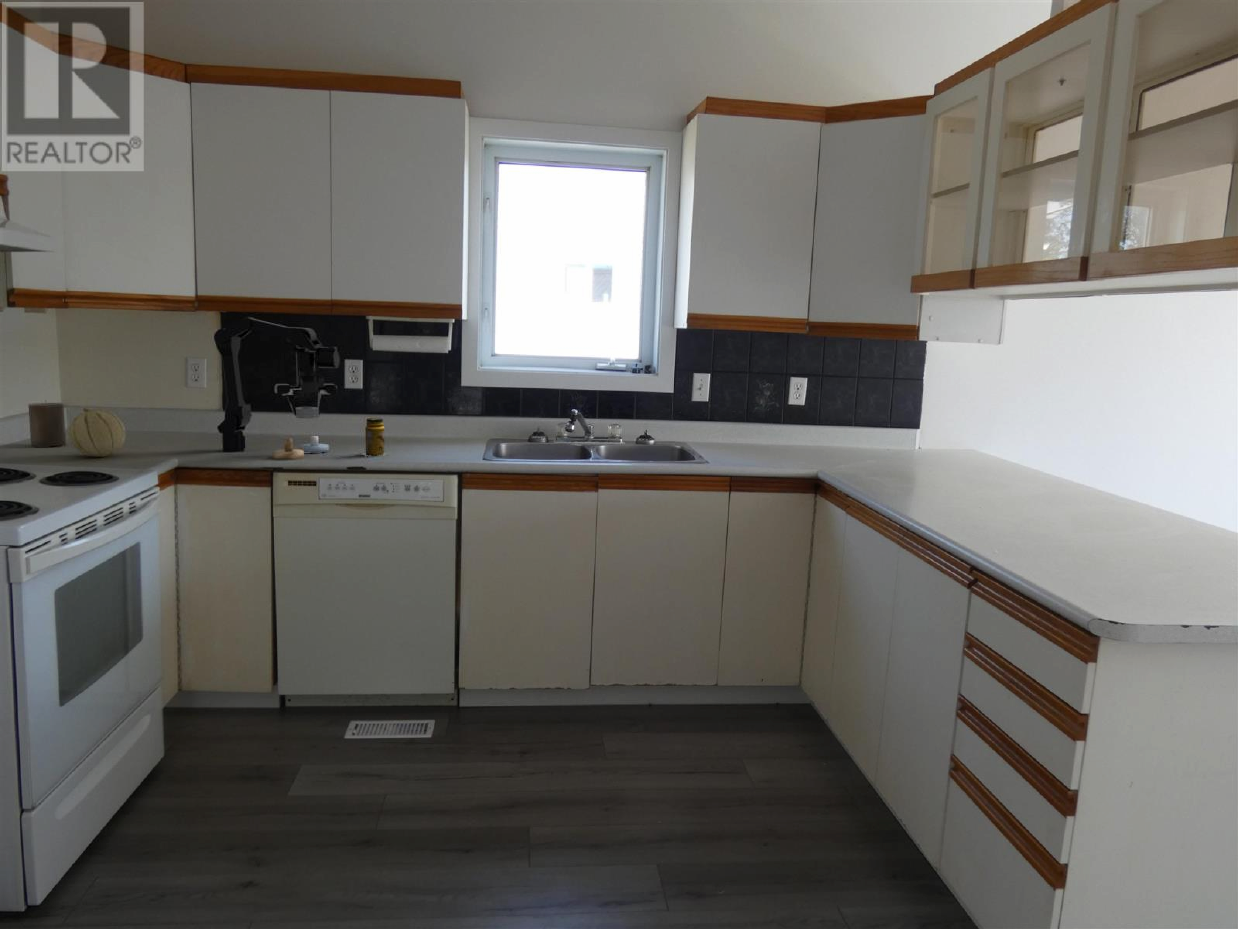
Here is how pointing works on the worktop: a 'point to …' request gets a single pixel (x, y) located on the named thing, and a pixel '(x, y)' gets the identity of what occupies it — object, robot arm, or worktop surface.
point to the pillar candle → (47, 424)
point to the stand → (288, 451)
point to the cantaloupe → (97, 433)
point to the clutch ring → (307, 412)
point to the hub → (314, 446)
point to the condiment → (374, 437)
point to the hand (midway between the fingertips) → (307, 415)
